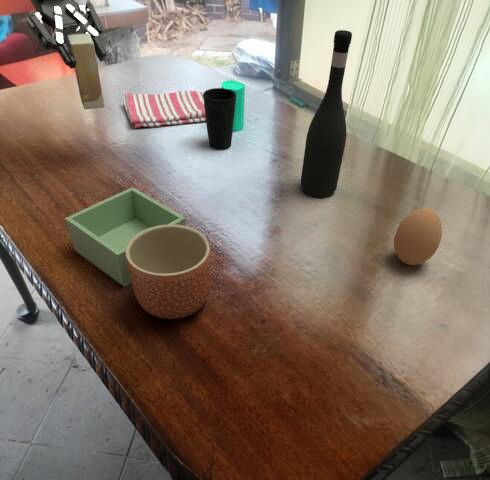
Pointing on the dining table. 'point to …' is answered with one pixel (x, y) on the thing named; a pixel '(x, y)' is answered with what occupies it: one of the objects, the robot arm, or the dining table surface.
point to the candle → (237, 102)
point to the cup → (219, 116)
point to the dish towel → (165, 108)
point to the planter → (169, 270)
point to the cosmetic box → (86, 70)
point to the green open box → (116, 229)
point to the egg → (418, 236)
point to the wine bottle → (327, 129)
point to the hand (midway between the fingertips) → (89, 62)
